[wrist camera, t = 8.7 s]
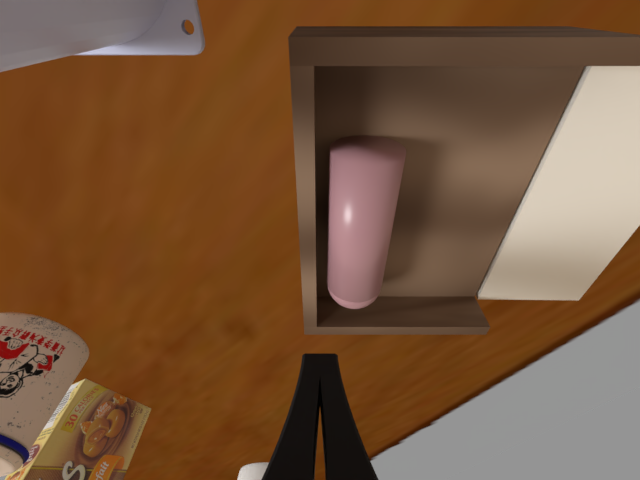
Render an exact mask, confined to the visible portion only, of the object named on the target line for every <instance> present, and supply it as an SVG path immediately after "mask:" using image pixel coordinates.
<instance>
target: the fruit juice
mask: <svg viewBox="0 0 640 480" xmlns="http://www.w3.org/2000/svg"><path fill="white" fill-rule="evenodd" d="M268 464H269V463H268V462H260V463H252V464H247V465H245V466H243V467H242V468H241V469H240V471H239V475H238V479H237V480H261V479H262V477H263V475H264V473H265V471H266V468H267V466H268Z"/></svg>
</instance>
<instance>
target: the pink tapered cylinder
mask: <svg viewBox="0 0 640 480" xmlns="http://www.w3.org/2000/svg"><path fill="white" fill-rule="evenodd" d="M405 157H406V149H405V147H404V146H403V145H401V144H400V143H398V142H396V141H394V140H391V139H388V138H384V137H379V136H370V135H356V136H348V137H344V138H341V139H338V140H336V141H334V142H333V143H332V144H331V145H330V148H329V194H328V244H327V287H328V290H329V293H330V295H331V296H332V298H333V299H334V300H335V301H336V302H337V303H338V304H340V305H341V306H343V307H346V308H350V309H360V308H364V307H366V306H368V305H370V304H371V303H373V302H374V301H375V299H376V298H377V297H378V295H379V293H380V290H381V287H382V282H383V276H384V271H385V265H386V260H387V255H388V249H389V244H390V238H391V233H392V228H393V222H394V217H395V211H396V206H397V200H398V195H399V190H400V184H401V179H402V173H403V168H404V163H405Z"/></svg>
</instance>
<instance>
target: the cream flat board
mask: <svg viewBox="0 0 640 480" xmlns="http://www.w3.org/2000/svg"><path fill="white" fill-rule="evenodd" d="M639 225H640V66H584V68H583V70H582V72H581V75H580V77H579V79H578V81H577V83H576V85H575V87H574V89H573V91H572V93H571V96H570V98H569V100H568V102H567V104H566V106H565V108H564V110H563V112H562V114H561V116H560V119H559V121H558V123H557V125H556V127H555V129H554V131H553V133H552V135H551V137H550V140H549V142H548V144H547V146H546V148H545V150H544V152H543V154H542V156H541V158H540V160H539V163H538V165H537V167H536V169H535V171H534V173H533V175H532V177H531V179H530V181H529V184H528V186H527V188H526V190H525V192H524V194H523V196H522V198H521V200H520V202H519V204H518V207H517V209H516V211H515V213H514V215H513V217H512V219H511V221H510V223H509V225H508V228H507V230H506V232H505V234H504V236H503V238H502V240H501V242H500V244H499V246H498V248H497V251H496V253H495V255H494V257H493V259H492V261H491V263H490V265H489V267H488V269H487V272H486V274H485V276H484V278H483V280H482V282H481V284H480V286H479V288H478V290H477V292H476V297H477V299H494V300H580V298H581V297H582V296H583V295H584V293H585V292H586V291H587V290H588V288H589V287H590V286H591V285H592V284H593V282H594V281H595V280H596V279H597V277H598V276H599V275H600V274H601V272H602V271H603V270H604V269H605V267H606V266H607V265H608V264H609V263H610V261H611V260H612V259H613V258H614V256H615V255H616V254H617V253H618V251H619V250H620V249H621V248H622V246H623V245H624V244H625V243H626V242H627V240H628V239H629V238H630V237H631V235H632V234H633V233H634V232H635V230H636V229H637V228H638V227H639Z"/></svg>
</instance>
